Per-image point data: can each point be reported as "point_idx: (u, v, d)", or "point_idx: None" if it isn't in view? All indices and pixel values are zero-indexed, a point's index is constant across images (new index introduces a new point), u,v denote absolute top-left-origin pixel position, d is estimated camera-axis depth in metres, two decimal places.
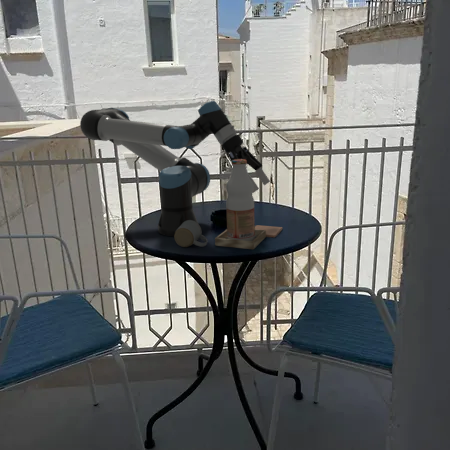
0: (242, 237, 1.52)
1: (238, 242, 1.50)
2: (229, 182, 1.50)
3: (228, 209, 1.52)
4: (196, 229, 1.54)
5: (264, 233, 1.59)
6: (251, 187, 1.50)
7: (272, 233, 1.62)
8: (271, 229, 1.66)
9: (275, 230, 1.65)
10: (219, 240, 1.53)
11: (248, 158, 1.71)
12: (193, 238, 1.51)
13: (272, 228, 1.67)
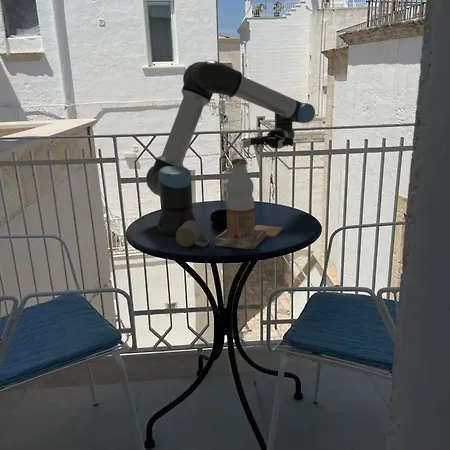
0: (242, 237, 1.52)
1: (238, 242, 1.50)
2: (229, 182, 1.50)
3: (228, 209, 1.52)
4: (197, 229, 1.54)
5: (264, 233, 1.59)
6: (251, 187, 1.50)
7: (272, 233, 1.62)
8: (271, 229, 1.66)
9: (275, 230, 1.65)
10: (219, 240, 1.53)
11: (262, 142, 1.81)
12: (194, 238, 1.51)
13: (272, 228, 1.67)
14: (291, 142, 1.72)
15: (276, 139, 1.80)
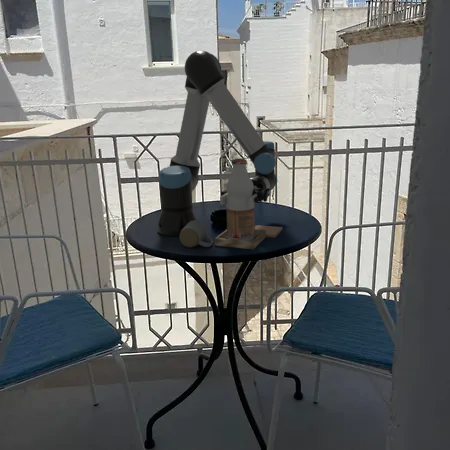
0: (242, 237, 1.52)
1: (238, 242, 1.50)
2: (229, 182, 1.50)
3: (228, 209, 1.52)
4: (201, 229, 1.53)
5: (264, 233, 1.59)
6: (251, 187, 1.50)
7: (272, 233, 1.62)
8: (271, 229, 1.66)
9: (275, 230, 1.65)
10: (219, 240, 1.53)
11: None
12: (198, 238, 1.50)
13: (272, 228, 1.67)
14: (264, 198, 1.53)
15: (253, 191, 1.60)
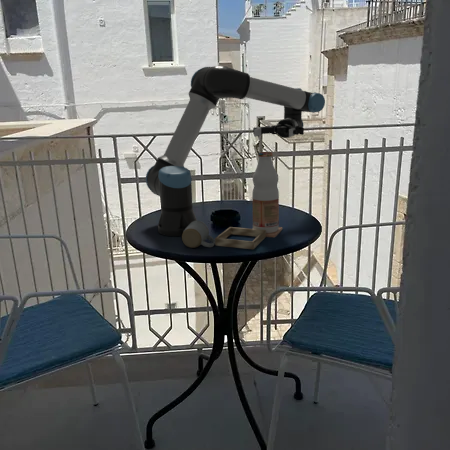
0: (267, 226, 1.61)
1: (238, 242, 1.50)
2: (256, 174, 1.58)
3: (254, 199, 1.60)
4: (204, 230, 1.53)
5: (264, 233, 1.59)
6: (276, 178, 1.58)
7: (272, 233, 1.62)
8: None
9: None
10: (219, 240, 1.53)
11: (273, 132, 1.83)
12: (201, 238, 1.50)
13: None
14: (301, 131, 1.74)
15: (286, 128, 1.81)
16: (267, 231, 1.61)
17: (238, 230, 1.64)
